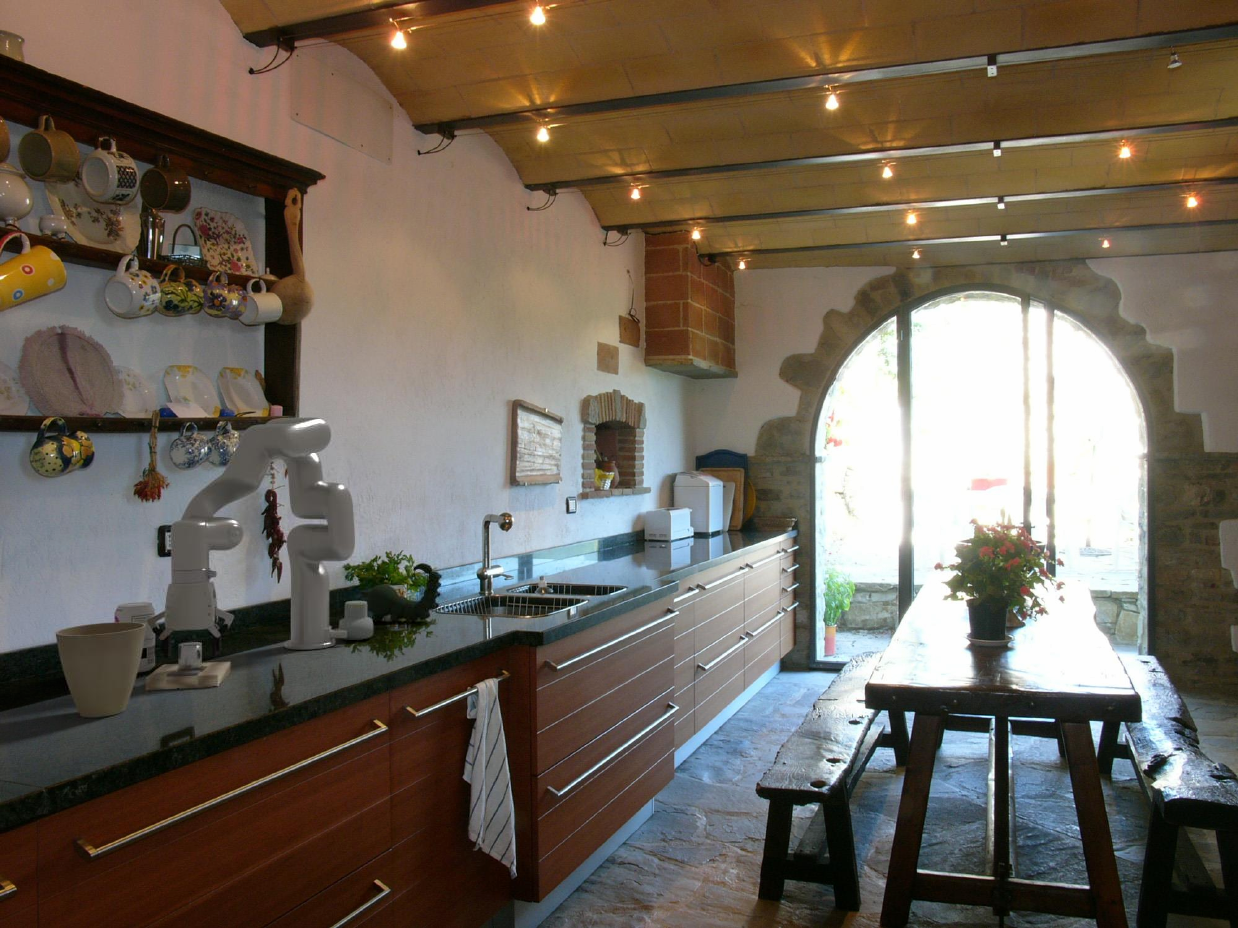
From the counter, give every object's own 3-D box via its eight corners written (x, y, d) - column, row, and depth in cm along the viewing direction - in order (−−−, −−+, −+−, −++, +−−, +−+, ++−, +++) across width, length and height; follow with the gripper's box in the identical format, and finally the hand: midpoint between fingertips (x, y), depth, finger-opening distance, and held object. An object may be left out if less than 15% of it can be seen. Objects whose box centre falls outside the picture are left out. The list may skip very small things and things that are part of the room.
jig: (230, 672, 211) (230, 658, 211) (217, 686, 198) (217, 671, 198) (163, 675, 208) (163, 661, 208) (145, 689, 195) (145, 675, 195)
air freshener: (374, 641, 250) (374, 603, 250) (342, 643, 247) (342, 605, 247) (369, 634, 260) (369, 598, 260) (338, 636, 257) (338, 600, 257)
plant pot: (125, 699, 187) (125, 619, 187) (159, 710, 177) (159, 626, 178) (42, 714, 175) (42, 629, 176) (74, 727, 166) (74, 637, 166)
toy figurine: (440, 625, 286) (362, 616, 289) (446, 563, 286) (367, 555, 289) (430, 630, 276) (350, 621, 279) (436, 566, 276) (355, 558, 279)
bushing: (203, 678, 206) (203, 641, 206) (199, 682, 201) (199, 645, 201) (181, 679, 205) (181, 642, 205) (175, 683, 200) (176, 646, 200)
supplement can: (110, 674, 209) (110, 607, 210) (119, 667, 217) (119, 602, 217) (150, 672, 212) (150, 606, 212) (158, 665, 220) (158, 601, 220)
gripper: (236, 573, 209) (237, 650, 209) (152, 576, 205) (153, 654, 205) (229, 577, 202) (230, 657, 202) (142, 580, 198) (143, 661, 198)
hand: (191, 655), depth 204 cm, fingers open, 9 cm apart
